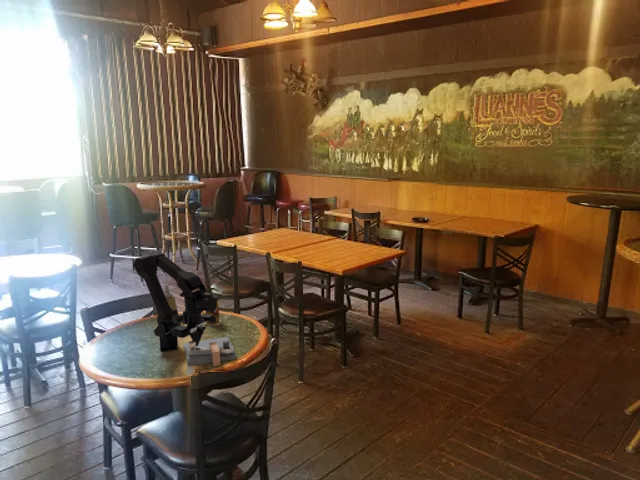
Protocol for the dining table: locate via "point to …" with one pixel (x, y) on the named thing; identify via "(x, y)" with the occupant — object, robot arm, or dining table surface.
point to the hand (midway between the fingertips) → (196, 345)
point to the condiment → (216, 314)
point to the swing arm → (209, 349)
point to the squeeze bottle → (170, 298)
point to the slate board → (207, 358)
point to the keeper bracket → (215, 353)
